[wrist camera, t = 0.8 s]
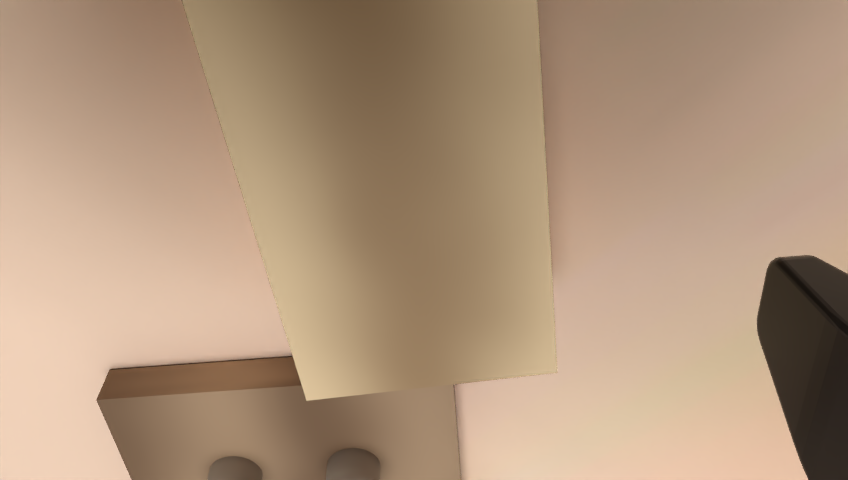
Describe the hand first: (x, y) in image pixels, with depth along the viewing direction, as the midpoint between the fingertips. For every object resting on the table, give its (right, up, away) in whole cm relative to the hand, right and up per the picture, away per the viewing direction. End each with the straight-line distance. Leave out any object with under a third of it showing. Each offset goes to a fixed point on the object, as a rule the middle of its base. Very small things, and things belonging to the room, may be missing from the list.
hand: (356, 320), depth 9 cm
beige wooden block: (0, +6, +9) cm, 11 cm away
